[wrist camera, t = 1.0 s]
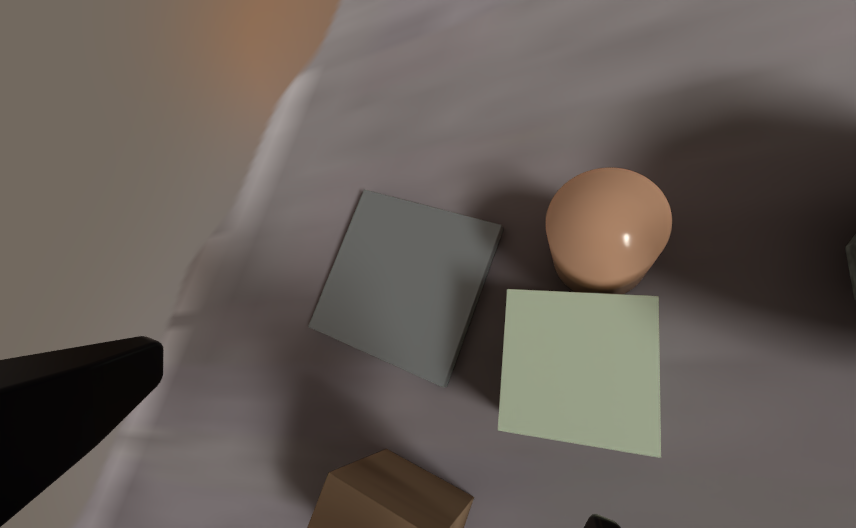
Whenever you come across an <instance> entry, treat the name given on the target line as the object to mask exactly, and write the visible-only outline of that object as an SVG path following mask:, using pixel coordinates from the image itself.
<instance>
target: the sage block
mask: <svg viewBox="0 0 856 528" xmlns="http://www.w3.org/2000/svg"><path fill="white" fill-rule="evenodd" d="M498 431H504V432H510V433H516V434H522V435H528V436H534V437H540V438H546V439H552V440H558V441H564V442H570V443H576V444H582V445H588V446H594V447H600V448H605V449H611V450H617V451H623V452H629V453H635V454H641V455H647V456H653V457H659V458H661V427H660V363H659V298H658V296H642V295H621V294H600V293H579V292H558V291H537V290H516V289H507V300H506V315H505V330H504V345H503V360H502V375H501V390H500V405H499V420H498Z"/></svg>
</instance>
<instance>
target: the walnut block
mask: <svg viewBox="0 0 856 528" xmlns="http://www.w3.org/2000/svg"><path fill="white" fill-rule="evenodd" d="M473 499H474V497H473V496H471V495H469V494H468V493H466V492H464V491H462V490H460V489H459V488H457V487H455V486H453V485H451V484H449V483H448V482H446V481H444V480H442V479H440V478H439V477H437V476H435V475H433V474H431V473H429V472H428V471H426V470H424V469H422V468H420V467H419V466H417V465H415V464H413V463H411V462H409V461H408V460H406V459H404V458H402V457H400V456H399V455H397V454H395V453H393V452H391V451H389V450H388V449H385V450H382V451H380V452H377V453H375V454H373V455H370V456H368V457H365V458H363V459H360V460H358V461H356V462H353V463H351V464H348V465H346V466H343V467H341V468H339V469H336V470H334V471H331V472H329V473H328V475H327V478H326V481H325V483H324V486H323V488H322V491H321V494H320V496H319V499H318V501H317V504H316V507H315V509H314V512H313V514H312V517H311V520H310V522H309V525H308V527H307V528H464V525H465V522H466V519H467V516H468V514H469V511H470V508H471V505H472V502H473Z"/></svg>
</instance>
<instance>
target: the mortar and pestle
mask: <svg viewBox="0 0 856 528" xmlns="http://www.w3.org/2000/svg"><path fill="white" fill-rule="evenodd" d="M845 250H846V255H847V261H848V267H849V272H850V278H851V284H852V289H853V295H854V299H855V300H856V234H855V235H854V237H853V238H852V239H851V240H850V242H849V243H848V244H847V246H846V247H845Z"/></svg>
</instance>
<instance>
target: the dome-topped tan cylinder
mask: <svg viewBox="0 0 856 528" xmlns="http://www.w3.org/2000/svg"><path fill="white" fill-rule="evenodd" d="M671 229H672V214H671V210H670V206H669V203H668V201H667V199H666V197H665V196H664V194H663V192H662V191H661V190H660V189H659V188H658V186H656V185H655V184H654V183H653V182H652V181H651V180H649V179H648V178H646V177H645V176H643V175H641V174H639V173H636V172H633V171H631V170H626V169H622V168H599V169H594V170H590V171H587V172H584V173H582V174H580V175H577V176H576V177H574V178H572V179H571V180H569V181H568V182H567V183H565V184H564V185H563V186H562V187H561V188H560V189H559V190H558V192H557V193H556V194H555V195H554V197H553V199H552V201H551V203H550V205H549V207H548V211H547V214H546V233H547V238H548V242H549V247H550V251H551V255H552V259H553V264H554V267H555V270H556V272H557V274H558V276H559V278H560V279H561V280H562V282H563V283H564V284H565V285H566V286H567V287H569V288H570V289H571V290H573V291H574V292H579V293H600V294H621V295H623V294H625V293H627V292H629V291H630V290H632V289H633V288H634V287H636V286H637V285H638V284H639V283H640V281H641V280H642V279H643V277H644V276H645V275H646V273H647V272H648V270H649V269H650V268H651V266H652V265H653V263H654V262H655V261H656V259H657V258H658V256H659V255H660V254H661V252H662V251H663V249H664V248H665V246H666V244H667V242H668V240H669V237H670V233H671Z"/></svg>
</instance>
